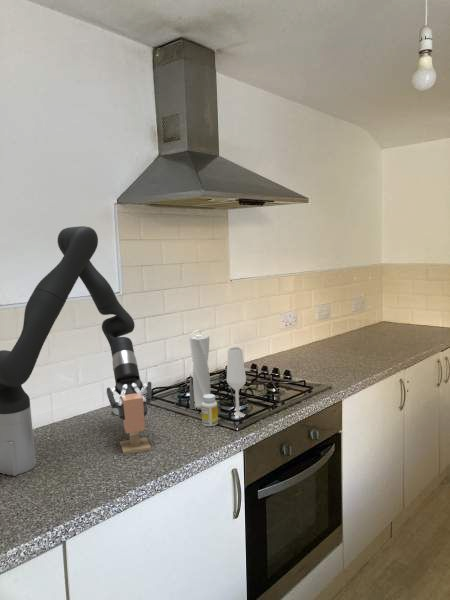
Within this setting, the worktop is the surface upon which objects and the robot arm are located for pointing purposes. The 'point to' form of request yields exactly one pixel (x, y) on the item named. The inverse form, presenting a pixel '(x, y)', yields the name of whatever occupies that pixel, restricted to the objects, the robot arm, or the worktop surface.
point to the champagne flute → (236, 373)
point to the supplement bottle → (209, 410)
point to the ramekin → (116, 408)
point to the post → (135, 444)
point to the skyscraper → (199, 369)
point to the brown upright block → (133, 413)
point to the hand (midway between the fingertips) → (134, 416)
